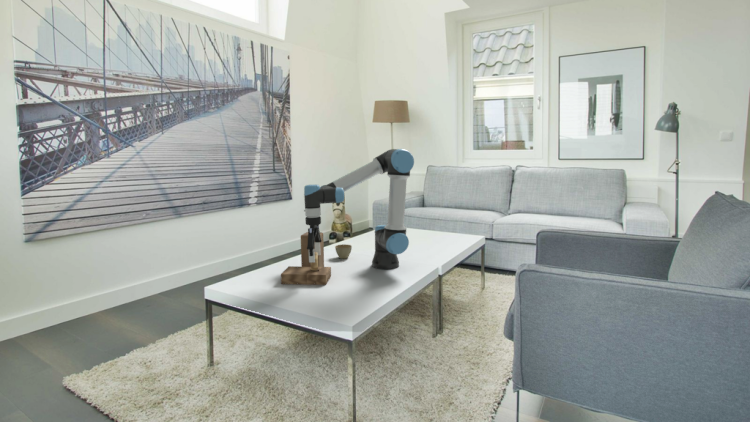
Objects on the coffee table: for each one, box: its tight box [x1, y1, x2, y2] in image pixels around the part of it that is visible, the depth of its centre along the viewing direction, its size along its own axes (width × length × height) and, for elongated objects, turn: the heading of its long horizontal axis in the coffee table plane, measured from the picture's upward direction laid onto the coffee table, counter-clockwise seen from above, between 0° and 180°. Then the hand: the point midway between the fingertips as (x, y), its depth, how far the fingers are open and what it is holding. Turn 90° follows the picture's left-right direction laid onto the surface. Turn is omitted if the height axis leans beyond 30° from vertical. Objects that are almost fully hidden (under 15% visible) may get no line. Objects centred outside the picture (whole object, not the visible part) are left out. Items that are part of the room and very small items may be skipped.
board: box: [280, 265, 332, 286], centre depth 216 cm, size 22×14×5 cm, turn 86°
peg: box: [311, 252, 318, 272], centre depth 215 cm, size 4×4×14 cm
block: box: [300, 231, 325, 267], centre depth 233 cm, size 10×10×20 cm
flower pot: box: [334, 243, 353, 260], centre depth 259 cm, size 10×10×7 cm
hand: (315, 258), depth 214 cm, fingers open, 13 cm apart
